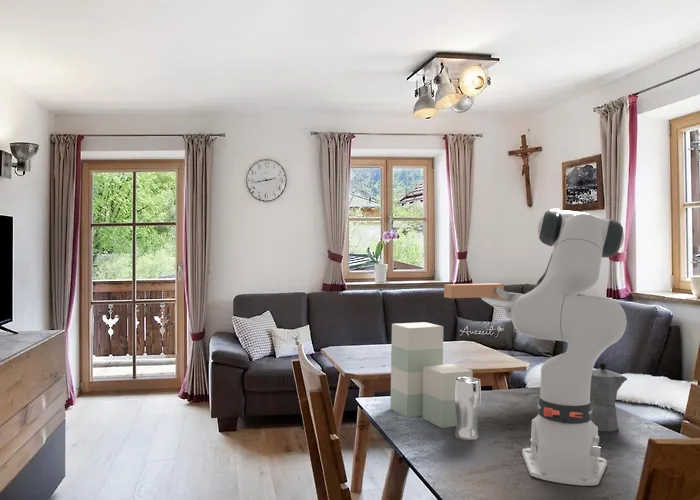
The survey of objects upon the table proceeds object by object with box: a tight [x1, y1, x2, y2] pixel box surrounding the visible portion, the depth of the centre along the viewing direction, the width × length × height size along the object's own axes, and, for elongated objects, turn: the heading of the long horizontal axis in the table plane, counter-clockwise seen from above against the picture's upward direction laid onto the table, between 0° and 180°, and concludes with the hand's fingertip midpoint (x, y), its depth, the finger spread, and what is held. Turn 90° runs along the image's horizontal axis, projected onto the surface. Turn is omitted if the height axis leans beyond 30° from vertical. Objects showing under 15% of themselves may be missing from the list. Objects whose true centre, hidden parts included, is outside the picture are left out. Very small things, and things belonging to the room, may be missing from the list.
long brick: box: [443, 282, 505, 299], centre depth 186 cm, size 20×4×4 cm, turn 115°
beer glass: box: [454, 377, 482, 441], centre depth 155 cm, size 7×7×15 cm
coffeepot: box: [590, 362, 628, 433], centre depth 166 cm, size 15×9×18 cm, turn 45°
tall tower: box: [389, 321, 444, 418], centre depth 178 cm, size 12×10×26 cm
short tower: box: [422, 363, 474, 429], centre depth 168 cm, size 10×10×15 cm
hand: (490, 288), depth 189 cm, fingers closed on long brick, 4 cm apart
